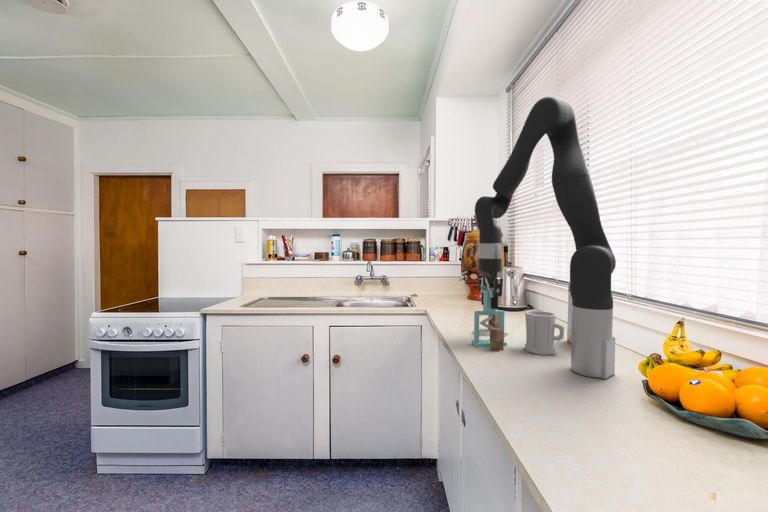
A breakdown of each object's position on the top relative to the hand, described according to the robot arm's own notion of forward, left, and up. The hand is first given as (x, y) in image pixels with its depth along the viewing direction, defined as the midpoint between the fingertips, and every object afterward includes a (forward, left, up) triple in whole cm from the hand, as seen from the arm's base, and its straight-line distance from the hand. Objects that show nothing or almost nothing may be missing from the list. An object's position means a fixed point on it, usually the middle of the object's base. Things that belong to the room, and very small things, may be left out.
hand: (489, 306), depth 117 cm
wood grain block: (+3, -8, -13) cm, 15 cm away
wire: (+3, -8, -7) cm, 11 cm away
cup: (-15, -7, -13) cm, 21 cm away
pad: (+8, -13, -13) cm, 20 cm away
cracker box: (-21, -22, -13) cm, 33 cm away
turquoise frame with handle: (0, 0, -13) cm, 13 cm away
